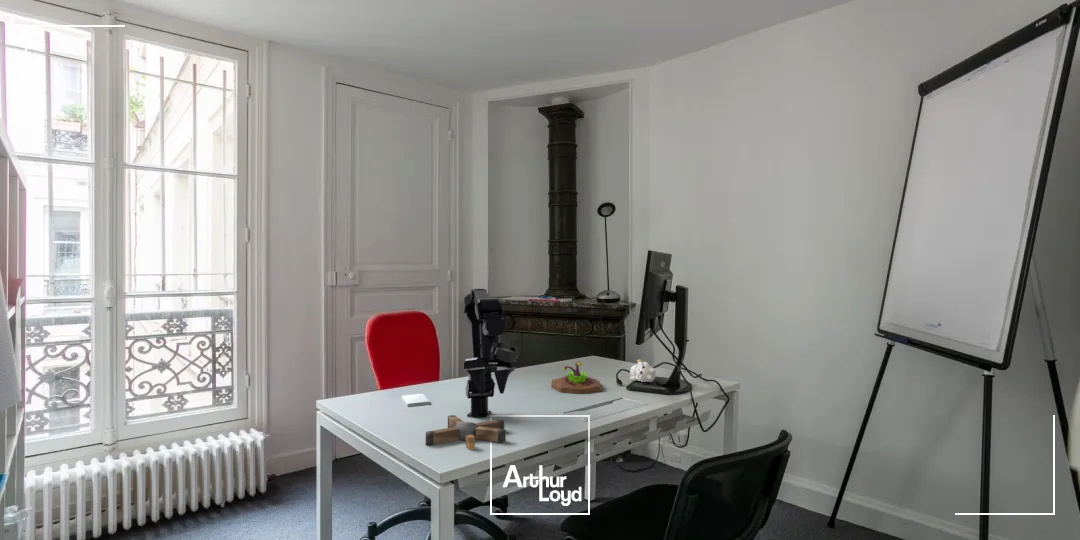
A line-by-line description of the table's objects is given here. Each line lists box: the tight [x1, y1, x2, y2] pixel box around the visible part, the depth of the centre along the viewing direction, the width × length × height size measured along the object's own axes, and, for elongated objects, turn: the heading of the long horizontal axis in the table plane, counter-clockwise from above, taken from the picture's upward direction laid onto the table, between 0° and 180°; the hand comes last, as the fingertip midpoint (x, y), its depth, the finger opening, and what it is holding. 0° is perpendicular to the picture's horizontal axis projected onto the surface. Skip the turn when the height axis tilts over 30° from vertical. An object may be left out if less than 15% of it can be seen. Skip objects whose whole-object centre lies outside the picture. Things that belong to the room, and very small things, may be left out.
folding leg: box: [475, 426, 507, 443], centre depth 160 cm, size 9×3×3 cm, turn 71°
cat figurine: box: [629, 358, 657, 383], centre depth 231 cm, size 10×8×15 cm
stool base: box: [425, 414, 505, 451], centre depth 163 cm, size 22×25×4 cm
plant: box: [550, 361, 602, 395], centre depth 221 cm, size 20×20×11 cm
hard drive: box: [401, 393, 432, 408], centre depth 201 cm, size 2×8×12 cm
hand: (492, 393), depth 161 cm, fingers open, 9 cm apart
